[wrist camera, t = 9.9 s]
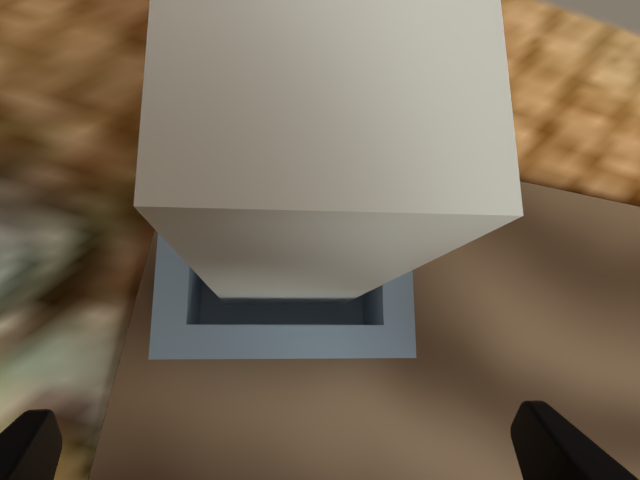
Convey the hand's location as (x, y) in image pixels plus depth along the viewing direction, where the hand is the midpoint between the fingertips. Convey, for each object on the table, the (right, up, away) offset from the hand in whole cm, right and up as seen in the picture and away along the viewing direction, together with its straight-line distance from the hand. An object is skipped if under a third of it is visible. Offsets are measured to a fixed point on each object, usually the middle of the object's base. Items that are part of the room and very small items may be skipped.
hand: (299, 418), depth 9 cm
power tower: (-1, +3, +9) cm, 9 cm away
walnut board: (+4, -2, +10) cm, 11 cm away
